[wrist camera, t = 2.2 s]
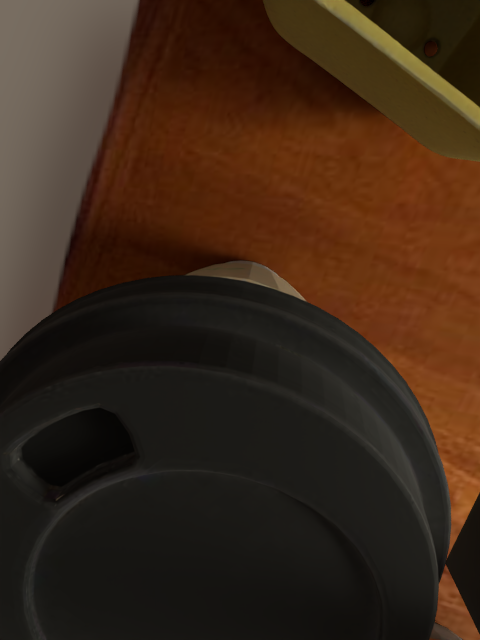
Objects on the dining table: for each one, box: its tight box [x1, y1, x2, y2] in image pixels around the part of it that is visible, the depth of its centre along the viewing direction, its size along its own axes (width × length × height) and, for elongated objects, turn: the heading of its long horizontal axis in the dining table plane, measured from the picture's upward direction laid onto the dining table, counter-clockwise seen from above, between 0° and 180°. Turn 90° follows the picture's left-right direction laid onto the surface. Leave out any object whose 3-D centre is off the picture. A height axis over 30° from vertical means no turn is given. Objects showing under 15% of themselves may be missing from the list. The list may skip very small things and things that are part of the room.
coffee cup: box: [0, 260, 451, 640], centre depth 14 cm, size 9×9×15 cm
